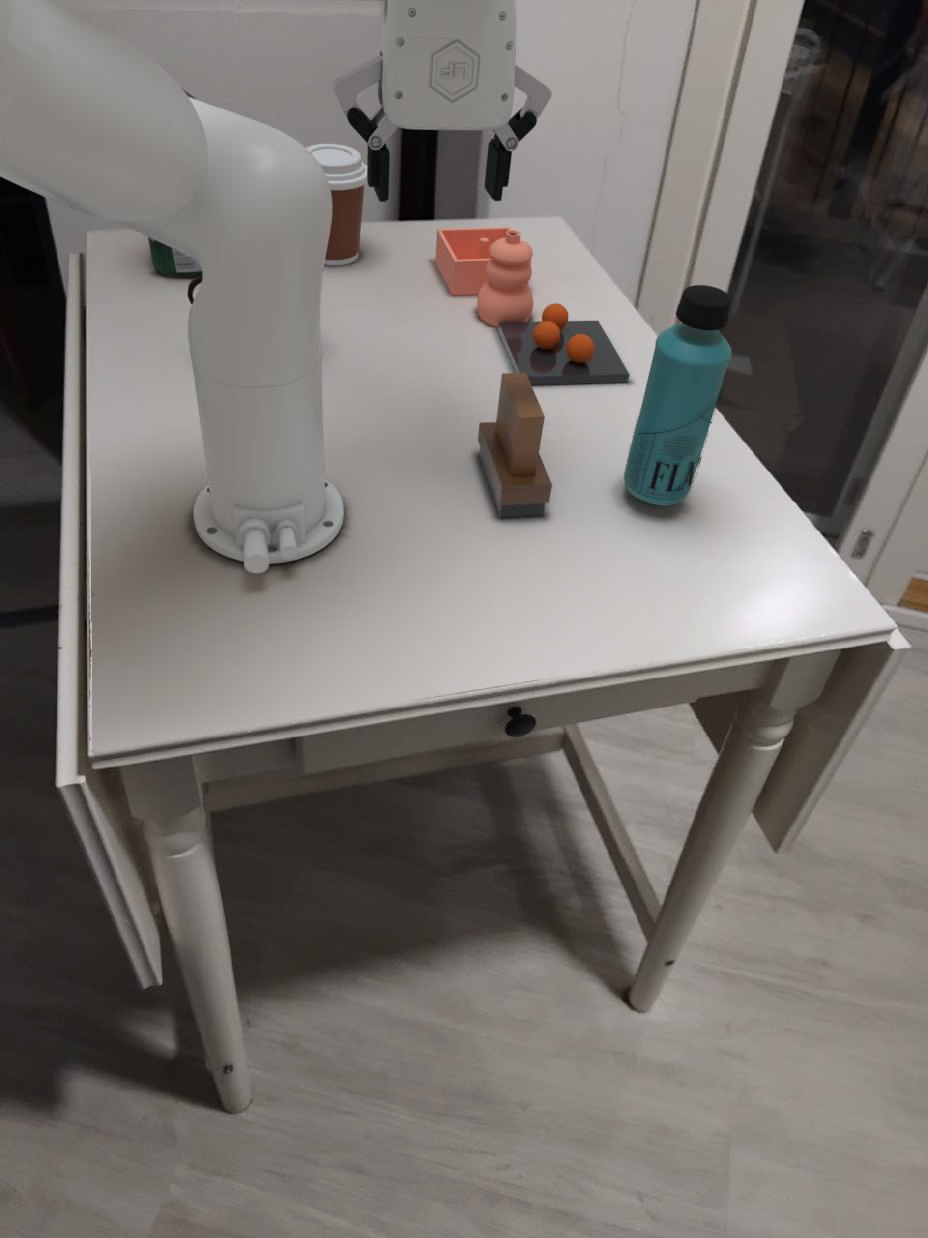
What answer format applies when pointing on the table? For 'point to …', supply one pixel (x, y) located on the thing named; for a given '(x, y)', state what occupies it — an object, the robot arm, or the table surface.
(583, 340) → the felt ball
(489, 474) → the brush
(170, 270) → the coffee jar
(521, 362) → the slate tile
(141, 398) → the table surface
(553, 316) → the felt ball
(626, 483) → the beverage bottle
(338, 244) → the coffee cup
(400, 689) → the table surface
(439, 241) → the pottery
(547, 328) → the felt ball
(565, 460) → the table surface
